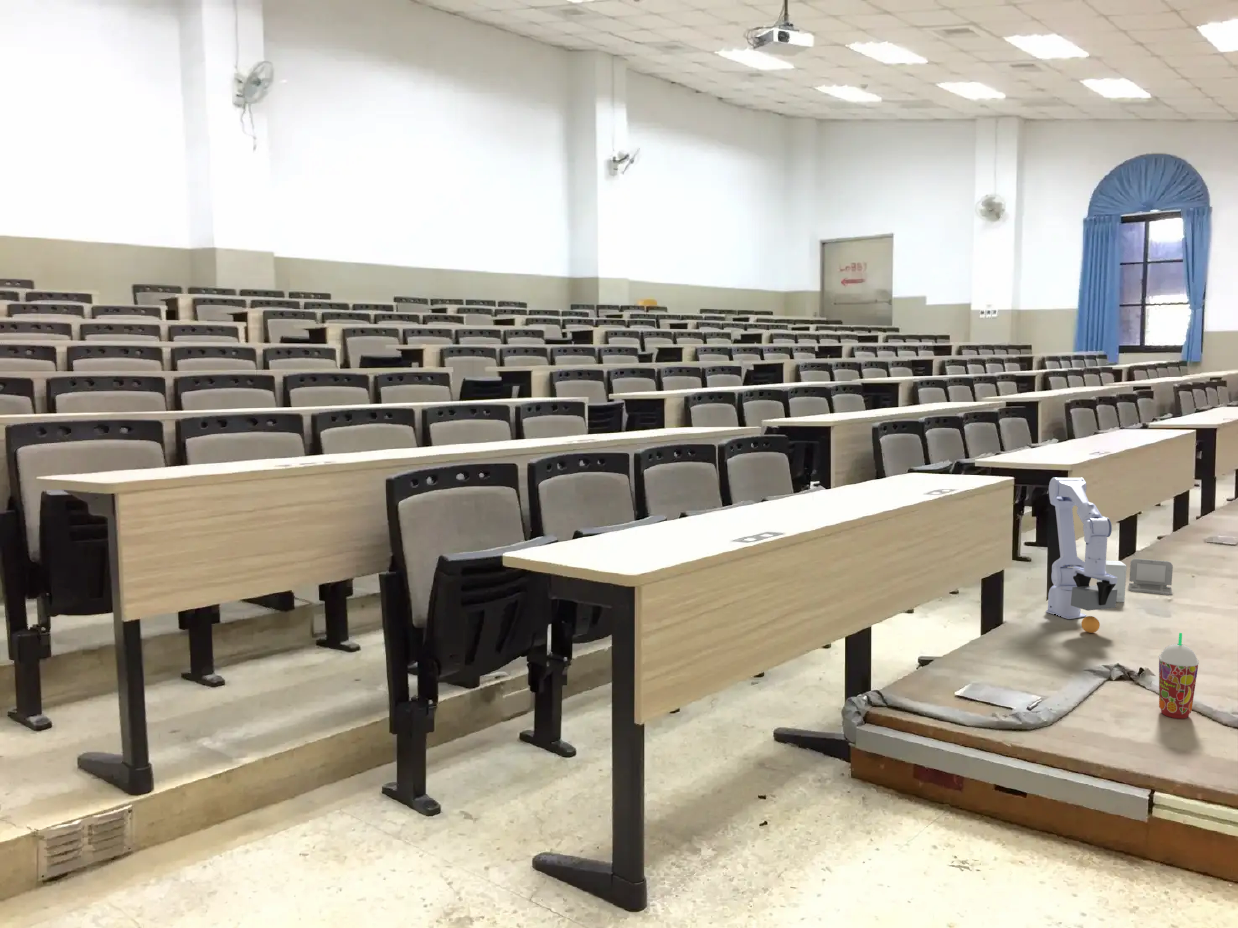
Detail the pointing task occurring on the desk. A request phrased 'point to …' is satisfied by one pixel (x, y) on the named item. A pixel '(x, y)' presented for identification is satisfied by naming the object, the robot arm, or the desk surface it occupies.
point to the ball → (1090, 624)
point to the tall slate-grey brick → (1091, 598)
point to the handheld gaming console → (1151, 576)
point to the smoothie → (1177, 680)
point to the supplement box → (1118, 571)
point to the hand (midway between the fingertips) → (1092, 601)
